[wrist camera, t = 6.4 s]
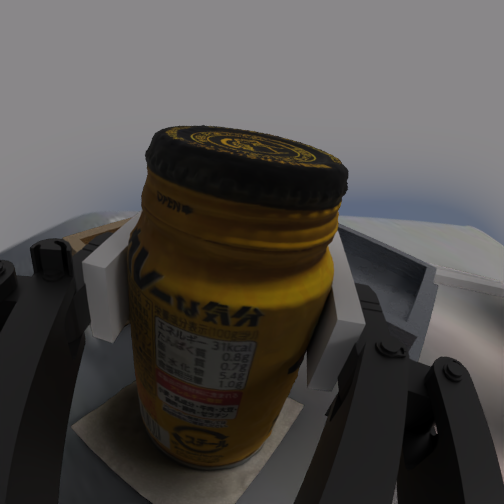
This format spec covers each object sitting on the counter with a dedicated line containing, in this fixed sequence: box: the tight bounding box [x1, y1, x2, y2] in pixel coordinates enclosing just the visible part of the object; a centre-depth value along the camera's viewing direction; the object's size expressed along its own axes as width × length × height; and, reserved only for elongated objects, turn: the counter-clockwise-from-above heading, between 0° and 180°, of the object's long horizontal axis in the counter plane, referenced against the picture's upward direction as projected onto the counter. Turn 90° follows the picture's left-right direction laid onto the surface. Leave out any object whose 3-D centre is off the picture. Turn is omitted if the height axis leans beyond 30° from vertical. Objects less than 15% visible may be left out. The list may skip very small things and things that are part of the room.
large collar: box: [338, 223, 438, 362], centre depth 26 cm, size 15×15×3 cm
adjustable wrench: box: [426, 262, 504, 297], centre depth 32 cm, size 25×6×2 cm, turn 79°
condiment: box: [71, 125, 348, 504], centre depth 10 cm, size 7×8×12 cm
